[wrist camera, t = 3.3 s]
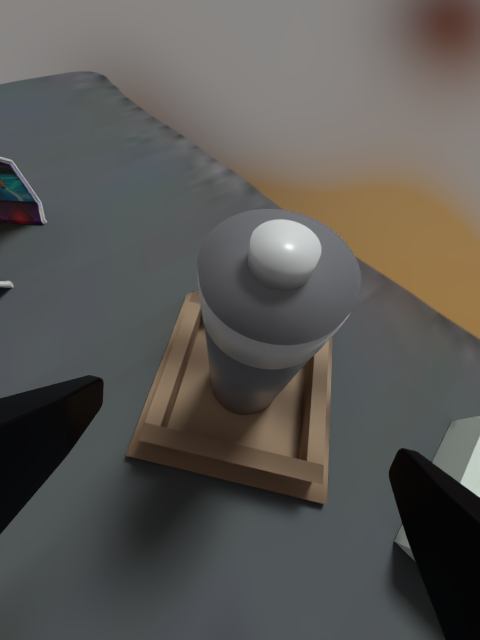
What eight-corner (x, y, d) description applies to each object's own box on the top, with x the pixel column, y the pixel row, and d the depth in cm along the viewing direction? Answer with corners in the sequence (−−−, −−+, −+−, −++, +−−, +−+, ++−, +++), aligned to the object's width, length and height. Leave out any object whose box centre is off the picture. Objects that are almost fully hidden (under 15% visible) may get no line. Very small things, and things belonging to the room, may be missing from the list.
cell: (288, 404, 19) (415, 300, 6) (219, 424, 18) (219, 347, 5) (265, 342, 21) (328, 178, 9) (204, 357, 20) (178, 197, 8)
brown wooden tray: (323, 503, 16) (340, 510, 14) (127, 455, 17) (114, 455, 15) (330, 326, 22) (342, 312, 20) (188, 296, 23) (184, 278, 21)
